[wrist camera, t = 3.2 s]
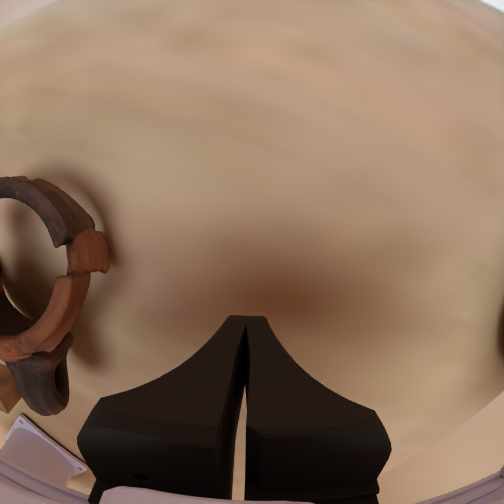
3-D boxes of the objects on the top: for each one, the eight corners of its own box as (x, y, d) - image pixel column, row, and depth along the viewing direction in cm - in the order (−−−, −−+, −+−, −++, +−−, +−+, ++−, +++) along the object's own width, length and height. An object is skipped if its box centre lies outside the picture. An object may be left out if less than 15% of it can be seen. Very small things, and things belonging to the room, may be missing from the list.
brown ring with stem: (-20, 225, 15) (-86, 197, 7) (99, 185, 18) (79, 128, 10) (28, 397, 15) (-17, 454, 7) (150, 365, 18) (160, 418, 11)
